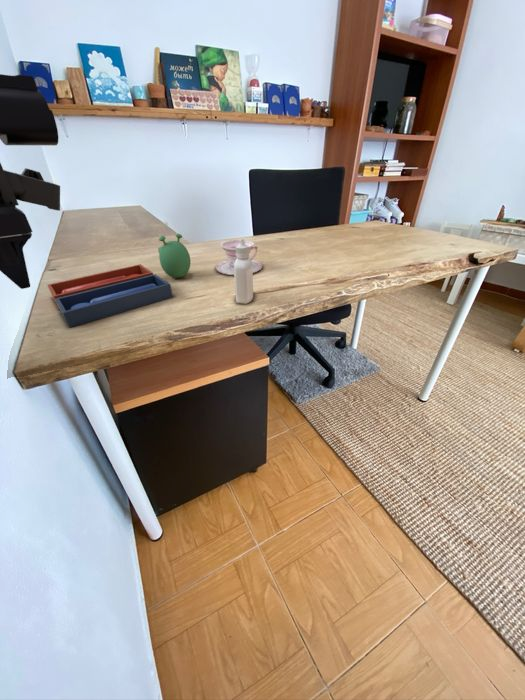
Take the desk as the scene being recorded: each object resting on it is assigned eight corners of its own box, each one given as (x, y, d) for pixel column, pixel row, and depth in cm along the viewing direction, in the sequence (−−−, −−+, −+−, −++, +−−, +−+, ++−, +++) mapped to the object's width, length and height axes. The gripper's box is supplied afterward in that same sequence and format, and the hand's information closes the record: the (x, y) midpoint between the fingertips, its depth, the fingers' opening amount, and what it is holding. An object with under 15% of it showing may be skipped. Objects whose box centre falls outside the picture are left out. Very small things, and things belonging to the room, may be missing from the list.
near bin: (69, 327, 52) (62, 313, 50) (61, 312, 57) (54, 298, 55) (172, 297, 62) (170, 284, 60) (158, 286, 67) (155, 274, 65)
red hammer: (65, 302, 60) (61, 293, 58) (61, 296, 62) (58, 288, 61) (146, 281, 68) (144, 273, 67) (140, 277, 70) (138, 269, 69)
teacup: (212, 276, 72) (209, 250, 68) (219, 260, 82) (217, 237, 78) (261, 276, 71) (260, 250, 68) (262, 260, 81) (262, 237, 78)
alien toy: (182, 269, 76) (175, 228, 70) (198, 277, 71) (192, 234, 66) (157, 276, 72) (147, 233, 67) (172, 284, 68) (163, 240, 62)
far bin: (59, 310, 58) (53, 296, 56) (52, 297, 63) (47, 284, 61) (155, 284, 68) (152, 272, 66) (143, 275, 73) (140, 264, 71)
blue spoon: (155, 289, 65) (153, 280, 64) (161, 294, 62) (159, 285, 61) (70, 312, 56) (66, 302, 55) (75, 318, 54) (70, 309, 53)
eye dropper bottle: (261, 296, 62) (260, 237, 55) (243, 306, 58) (240, 244, 51) (245, 291, 64) (243, 234, 57) (227, 300, 60) (222, 240, 53)
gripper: (53, 144, 31) (100, 283, 40) (30, 146, 43) (70, 253, 52) (-93, 144, 26) (-1, 306, 34) (-73, 146, 37) (-8, 266, 46)
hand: (22, 278), depth 42 cm, fingers open, 9 cm apart
